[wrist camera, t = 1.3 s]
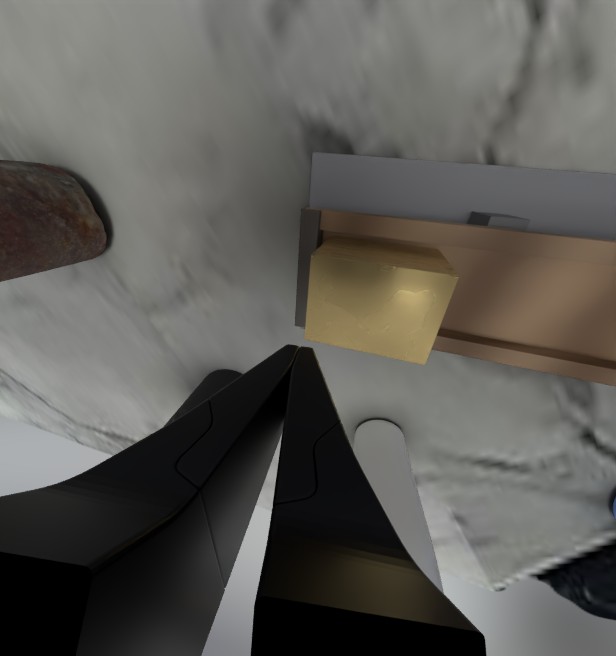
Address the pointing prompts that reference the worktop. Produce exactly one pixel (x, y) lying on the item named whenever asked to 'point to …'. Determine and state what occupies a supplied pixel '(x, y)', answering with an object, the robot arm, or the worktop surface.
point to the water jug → (614, 508)
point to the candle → (44, 220)
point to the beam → (500, 289)
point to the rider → (378, 297)
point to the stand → (467, 193)
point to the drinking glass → (396, 489)
